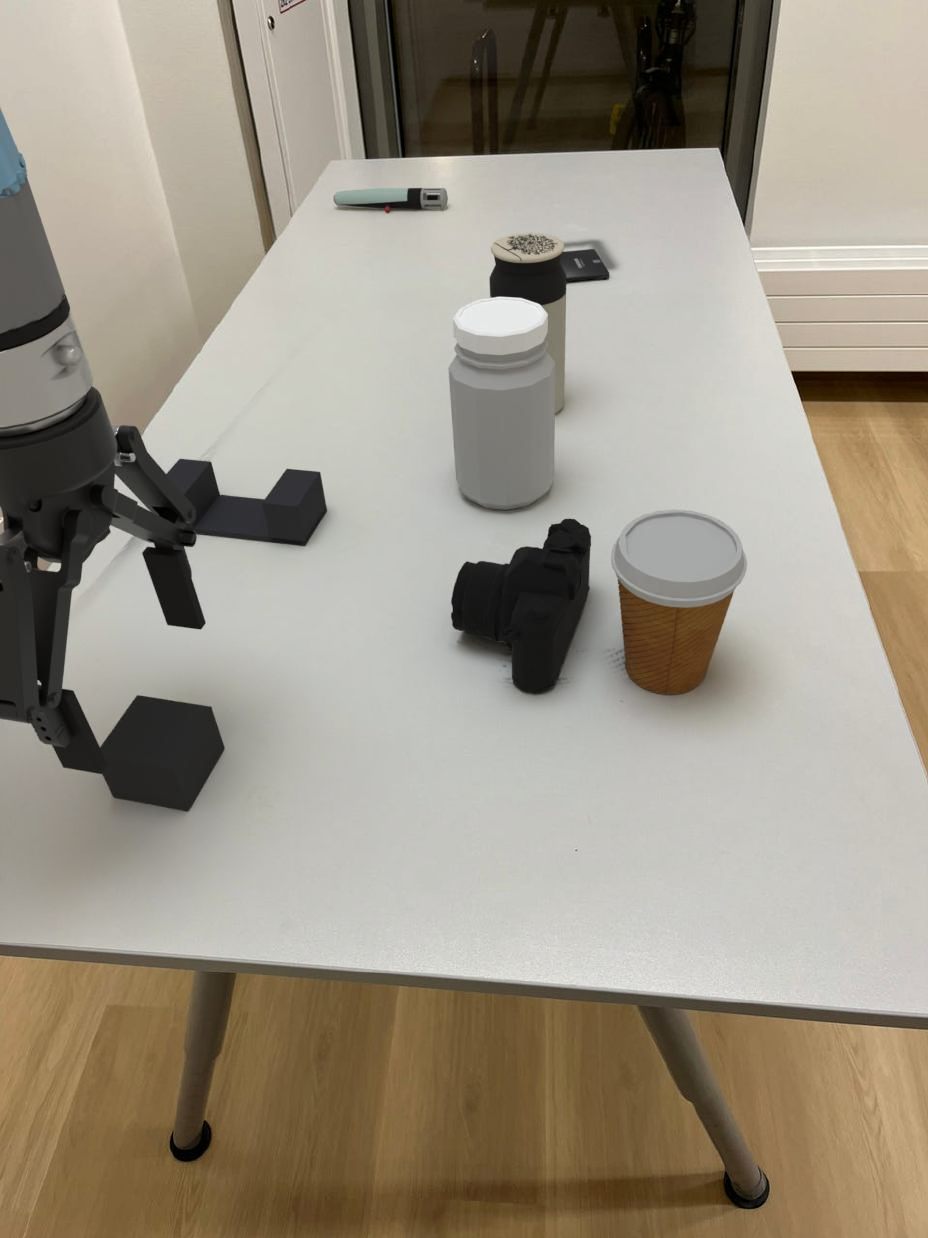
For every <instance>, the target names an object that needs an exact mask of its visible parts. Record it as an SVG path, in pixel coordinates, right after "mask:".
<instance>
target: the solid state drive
mask: <svg viewBox="0 0 928 1238" xmlns="http://www.w3.org/2000/svg"><path fill="white" fill-rule="evenodd" d="M599 255H600V254H598V252H597V251H596V249H595V248H588V249H579V250H578V249H577V250H567V251H563V252H562V254H561V259H560V263H561V265H562V267H563V269H564V271H565V273H566V283H568V282H573V281H582V280H584V281H589V280H592V279H596V280H602V279H603V280H605V279H604V278H606V279H609V278H610V271H609V270H608V268H607V266H606V265H605V264H604V262H603V260H602V259H601V257H600V256H599Z"/></svg>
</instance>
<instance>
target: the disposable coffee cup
mask: <svg viewBox="0 0 928 1238" xmlns="http://www.w3.org/2000/svg"><path fill="white" fill-rule="evenodd" d="M610 562H611V568H612V569H613V571H614V573H615V575H616V578H617V585H618V586H617V587H618V597H619V607H620V620H621V629H622V640H623V652H624V666H625V670H626V673H627V675H628V676H629V678H630V679H631V680H632V681H633V683H635V684H636V685H638V686H639V687H640V688H643V689H644V690H647V691H648V692H652V693H655V694H661V695H680V694H684V693H688V692H691V691H693V690H694V689H696V688H697V687H699V686H700V685H701V684H702V683H703V682H704V680H705V678H706V677H707V672H708V670H709V666H710V663H711V661H712V657H713V654H714V652H715V649H716V646H717V643H718V641H719V637H720V634H721V631H722V628H723V625H724V622H725V619H726V617H727V613H728V611H729V607H730V605H731V601H732V600H733V596H734V593H735V590H736V588H737V587H738V586H739V585H740V584H741V582H742V581H743V579H744V578H745V577H746V574H747V573H746V572H747V569H748V560H747V555H746V553H745V552H744V549H743V544H742V541H741V538H740V536H739V535H738V533H736V531H735V530H734V529H733V528H732V527H731V526H730V525H728V524H726V523H725V522H724V521H722V520H720V519H718V518H717V517H714V516H711V515H709V514H706V513H702V512H698V511H694V510H686V509H665V510H664V509H663V510H656V511H653V512H649V513H644V514H642V515H640V516H638V517H636V518H634V519H633V520H631V521H630V522H629V523H627V524H626V525H625V527H624V528H623V529H622V530H621V532H620V534H619V536H618V538H617V540H616V541H615V543H614V544H613V546H612V549H611V552H610Z"/></svg>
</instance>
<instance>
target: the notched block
mask: <svg viewBox="0 0 928 1238" xmlns="http://www.w3.org/2000/svg"><path fill="white" fill-rule="evenodd" d="M174 463H175V464H173V465H172V466H171V468H170V469H168V471H167V473H166V474H167V476H168V477H169V478H170V479H171V480H172V482H173V483H174V484H175V485H176V486H177V487H178V489H179V490H180V491H181V492H182V493H183V494H184V496H185V497H186V498H187V499H188V500H189V501H190V503H191V504H192V505H193V506H194V508H195V510H196V517H195V520H194V522H193V523H186V526H185V528H184V529H191V530H194V531H195V532H196V535H197V534H198V535H206V536H215V537H224V538H232V539H233V538H234V539H241V540H250V541H259V542H267V543H277V544H285V545H295V546H301V547H306V545H307V543H308V542H309V540H310V539H311V537H312V536H313V534H314V532H315V531H316V529H317V527H318V526H319V524H320V523H321V521H322V520H323V518H324V517H325V515H326V513H327V511H328V508H327V507H328V506H327V501H326V495H325V490H324V485H323V480H322V474H321V471H316V470H307V469H294V468H286V469H285V470H284V472H283V473H282V475H281V476H280V477H279V478H278V480H277V481H276V483H275V484H274V485H273V487H272V488H271V489H270V491H269V492H268V493H267V495H266V497H265V498H257V497H256V498H255V497H247V496H239V495H238V496H237V495H227V494H221V493H220V490H219V485H218V481H217V477H216V475H215V474H216V473H215V471H214V467H213V463H212V461H209V460H200V459H199V460H198V459H188V458H179V459H178V460H177V461H176V462H174Z"/></svg>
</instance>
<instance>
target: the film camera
mask: <svg viewBox="0 0 928 1238" xmlns="http://www.w3.org/2000/svg"><path fill="white" fill-rule="evenodd" d="M591 547H592V535H591V532H590V528H589V526H586V525H584V524H582V523H580V522H579V521H578V520H577V519H575V518H564V519H563V520H561V521H560V522H559V523H551V525H550V526H549V527H548V532H547V537H546V539H545V540H544V542H543V546H542V548H541V547H538V546H527V545H526V546H520V547H519V548H517V549H515V551H514V553H513V554H512V557H511V559H510V561H509V563H507V562H506V563H497V562H491V561H485V560H479V561H477V562H471V561H469V560H467V561H465V562H464V563H463V564H462V566H461V568H460V569H459V571H458V573H457V576H456V579H455V582H454V585H453V589H452V594H451V601H450V605H451V607H452V612H451V613H450V619H451V625H452V628H453V629H455V630H456V631H460V632H463V633H464V634H466V635H467V636H470V637H477V638H485V639H488V640H490V641H492V642H497V643H504V644H505V646H506V648H507V649H509V650H511V679H512V683H513V685H514V686H515V687H516V688H517V689H518V690H520V691H521V692H524V693H529V694H534V695H536V694H542V693H545V692H548V691H550V690H551V689H552V688H553V687H555V685H556V682H557V680H558V678H559V676H560V674H561V671H562V667H563V664H564V662H565V660H566V657H567V655H568V651H569V649H570V646H571V644H572V643H571V642H572V641H573V639H574V636H575V633H576V630H577V628H578V624H579V622H580V620H581V616H582V613H583V611H584V608H585V604H586V601H587V598H588V595H589V591H590V589H591V587H590V567H591V566H590V563H591Z"/></svg>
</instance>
